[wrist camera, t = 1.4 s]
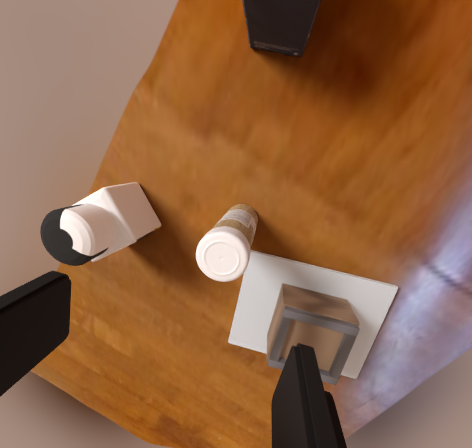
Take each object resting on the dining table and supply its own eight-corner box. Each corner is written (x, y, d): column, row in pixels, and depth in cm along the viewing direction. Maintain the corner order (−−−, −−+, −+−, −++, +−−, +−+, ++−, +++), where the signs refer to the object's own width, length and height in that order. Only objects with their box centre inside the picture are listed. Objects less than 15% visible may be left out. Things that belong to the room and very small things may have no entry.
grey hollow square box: (347, 299, 32) (362, 328, 27) (326, 350, 35) (337, 386, 29) (282, 282, 33) (284, 307, 28) (267, 334, 36) (266, 366, 30)
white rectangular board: (396, 285, 31) (398, 287, 31) (355, 375, 36) (356, 379, 35) (249, 249, 33) (249, 251, 33) (228, 339, 38) (227, 342, 37)
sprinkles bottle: (250, 240, 33) (235, 292, 20) (220, 227, 33) (186, 270, 20) (264, 211, 31) (257, 246, 19) (232, 197, 32) (205, 223, 19)
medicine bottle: (125, 243, 36) (56, 283, 25) (100, 202, 35) (15, 222, 23) (163, 225, 34) (108, 258, 23) (138, 180, 33) (67, 192, 22)
